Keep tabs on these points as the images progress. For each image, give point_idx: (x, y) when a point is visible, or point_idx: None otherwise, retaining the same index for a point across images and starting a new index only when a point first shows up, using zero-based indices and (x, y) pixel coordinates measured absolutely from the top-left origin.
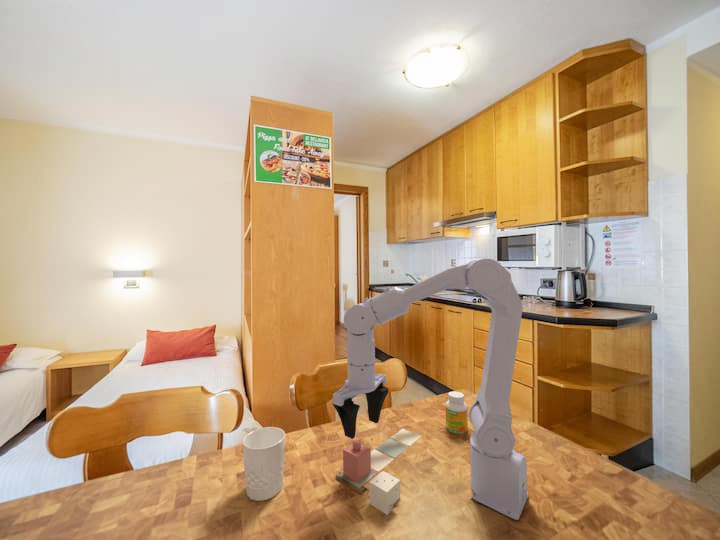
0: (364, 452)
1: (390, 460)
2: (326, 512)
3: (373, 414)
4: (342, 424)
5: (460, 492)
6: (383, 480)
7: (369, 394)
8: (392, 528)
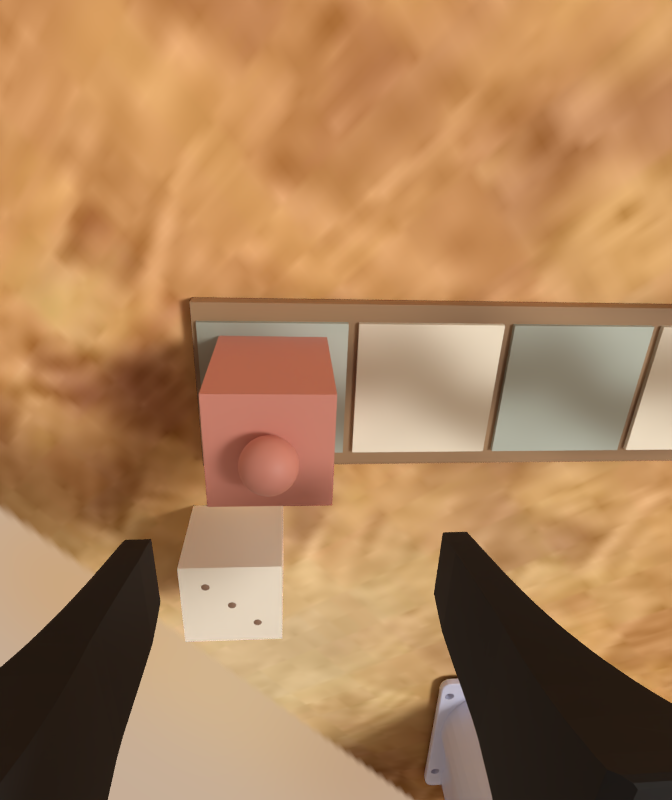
0: (273, 505)
1: (462, 444)
2: (21, 417)
3: (456, 619)
4: (72, 602)
5: (450, 667)
6: (230, 600)
7: (542, 768)
8: (169, 608)
